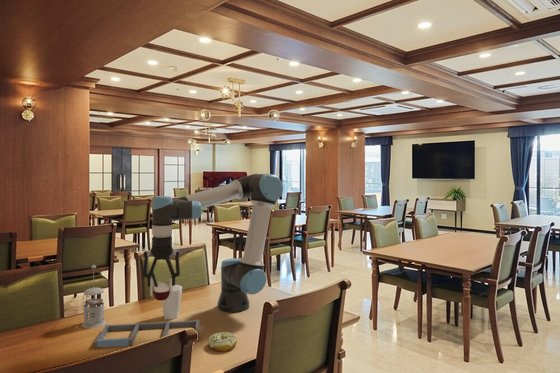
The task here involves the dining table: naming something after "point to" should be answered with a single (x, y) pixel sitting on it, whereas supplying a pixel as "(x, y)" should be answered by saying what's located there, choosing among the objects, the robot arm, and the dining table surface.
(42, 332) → the dining table surface
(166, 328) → the organizer
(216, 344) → the decorated donut
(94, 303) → the french press
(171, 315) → the foam cup
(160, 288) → the cocoa
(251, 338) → the dining table surface
